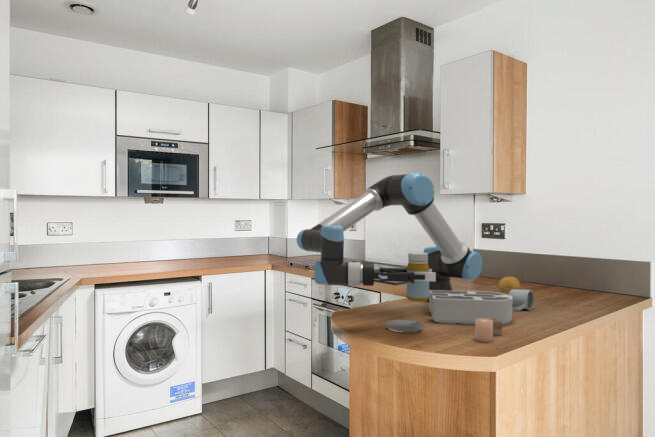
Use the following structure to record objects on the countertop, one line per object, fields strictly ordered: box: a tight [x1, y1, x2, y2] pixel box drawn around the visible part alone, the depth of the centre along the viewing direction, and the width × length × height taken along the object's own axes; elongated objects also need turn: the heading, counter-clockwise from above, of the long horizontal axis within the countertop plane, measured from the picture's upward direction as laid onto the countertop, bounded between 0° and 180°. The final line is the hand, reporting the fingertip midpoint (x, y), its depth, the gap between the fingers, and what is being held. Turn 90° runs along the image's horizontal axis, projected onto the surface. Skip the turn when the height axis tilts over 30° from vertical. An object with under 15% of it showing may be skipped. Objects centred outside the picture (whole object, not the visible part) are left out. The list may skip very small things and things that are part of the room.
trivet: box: [385, 319, 424, 332], centre depth 142 cm, size 12×12×1 cm
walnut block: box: [488, 318, 503, 337], centre depth 136 cm, size 4×4×4 cm
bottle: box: [406, 251, 429, 303], centre depth 139 cm, size 7×7×15 cm
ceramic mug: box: [508, 289, 535, 312], centre depth 171 cm, size 11×8×8 cm
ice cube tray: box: [428, 290, 513, 326], centre depth 155 cm, size 17×28×9 cm, turn 82°
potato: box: [497, 276, 522, 295], centre depth 193 cm, size 10×13×9 cm
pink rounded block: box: [474, 318, 494, 343], centre depth 130 cm, size 5×5×6 cm
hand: (433, 275), depth 139 cm, fingers closed on bottle, 7 cm apart
